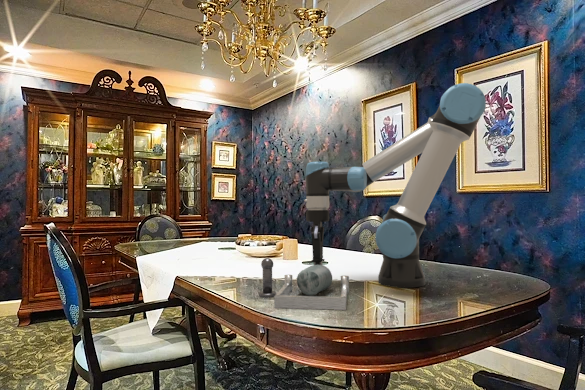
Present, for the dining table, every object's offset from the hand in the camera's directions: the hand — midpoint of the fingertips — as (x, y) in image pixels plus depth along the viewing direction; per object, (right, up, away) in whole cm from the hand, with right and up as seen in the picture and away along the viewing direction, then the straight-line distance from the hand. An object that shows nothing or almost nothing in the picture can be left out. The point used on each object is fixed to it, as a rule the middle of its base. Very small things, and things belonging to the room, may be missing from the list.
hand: (318, 281), depth 129 cm
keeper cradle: (-3, -1, -18) cm, 18 cm away
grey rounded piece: (-2, -2, -9) cm, 9 cm away
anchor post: (-16, -1, -12) cm, 20 cm away
